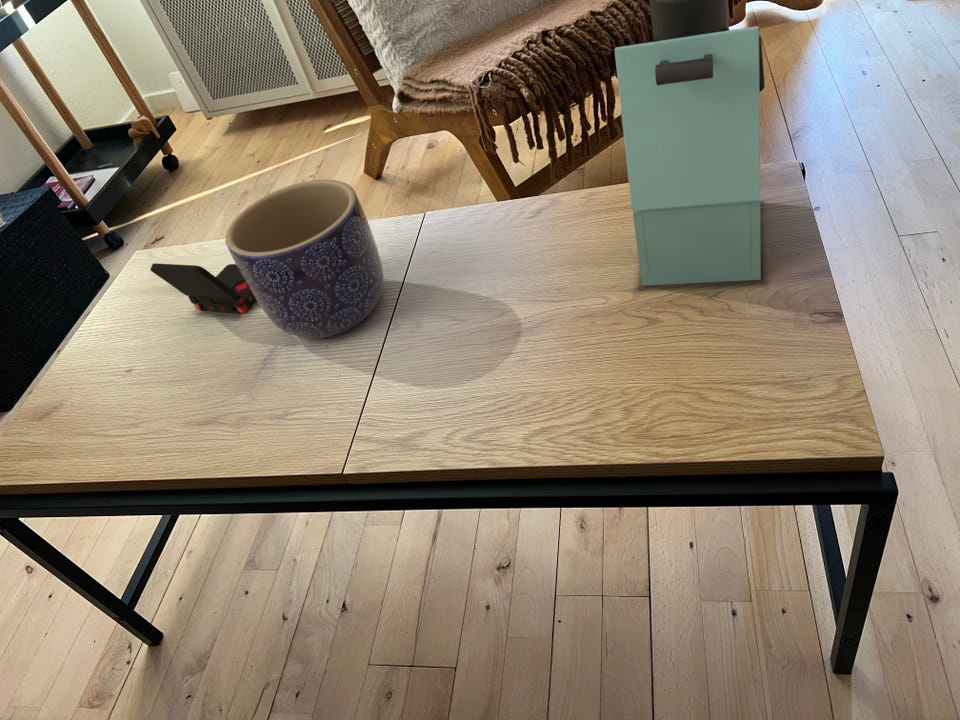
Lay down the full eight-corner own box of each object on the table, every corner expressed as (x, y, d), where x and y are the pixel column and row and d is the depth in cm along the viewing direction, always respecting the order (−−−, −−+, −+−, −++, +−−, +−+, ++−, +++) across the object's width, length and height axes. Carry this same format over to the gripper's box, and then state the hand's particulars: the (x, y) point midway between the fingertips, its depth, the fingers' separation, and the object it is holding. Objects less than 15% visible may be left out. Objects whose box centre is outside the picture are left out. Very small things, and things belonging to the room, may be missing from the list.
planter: (418, 279, 103) (382, 180, 93) (348, 363, 93) (299, 262, 83) (323, 267, 111) (282, 175, 101) (250, 343, 101) (195, 249, 92)
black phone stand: (281, 274, 112) (252, 215, 106) (233, 329, 105) (198, 269, 98) (231, 271, 116) (200, 214, 110) (181, 324, 109) (145, 266, 102)
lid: (615, 47, 75) (609, 62, 71) (758, 25, 71) (760, 40, 67) (632, 207, 84) (627, 228, 80) (760, 197, 80) (761, 218, 76)
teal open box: (651, 210, 102) (643, 140, 95) (757, 201, 98) (756, 128, 91) (642, 286, 91) (632, 213, 84) (760, 279, 86) (760, 202, 80)
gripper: (611, 9, 77) (630, 156, 88) (764, -17, 73) (765, 141, 83) (619, -17, 82) (636, 125, 93) (762, -43, 78) (763, 109, 88)
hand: (697, 132), depth 88 cm, fingers open, 8 cm apart
